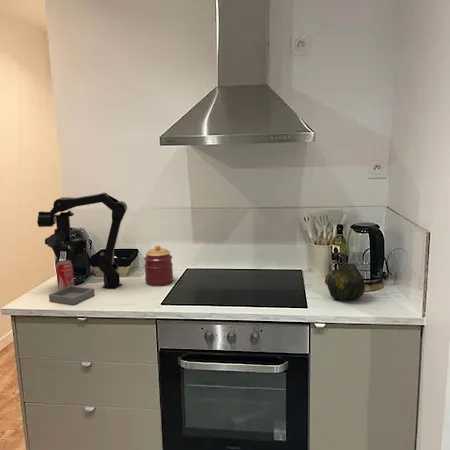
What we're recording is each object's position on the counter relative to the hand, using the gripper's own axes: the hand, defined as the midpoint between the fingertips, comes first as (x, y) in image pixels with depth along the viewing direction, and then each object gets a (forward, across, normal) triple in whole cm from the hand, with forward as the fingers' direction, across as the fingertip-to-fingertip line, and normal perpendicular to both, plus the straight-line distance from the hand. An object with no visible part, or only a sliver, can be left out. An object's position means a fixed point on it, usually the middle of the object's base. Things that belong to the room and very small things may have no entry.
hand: (66, 260), depth 213 cm
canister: (+13, +34, +23) cm, 43 cm away
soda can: (+13, 0, -2) cm, 14 cm away
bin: (+13, +12, -10) cm, 20 cm away
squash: (+12, +118, +34) cm, 123 cm away
